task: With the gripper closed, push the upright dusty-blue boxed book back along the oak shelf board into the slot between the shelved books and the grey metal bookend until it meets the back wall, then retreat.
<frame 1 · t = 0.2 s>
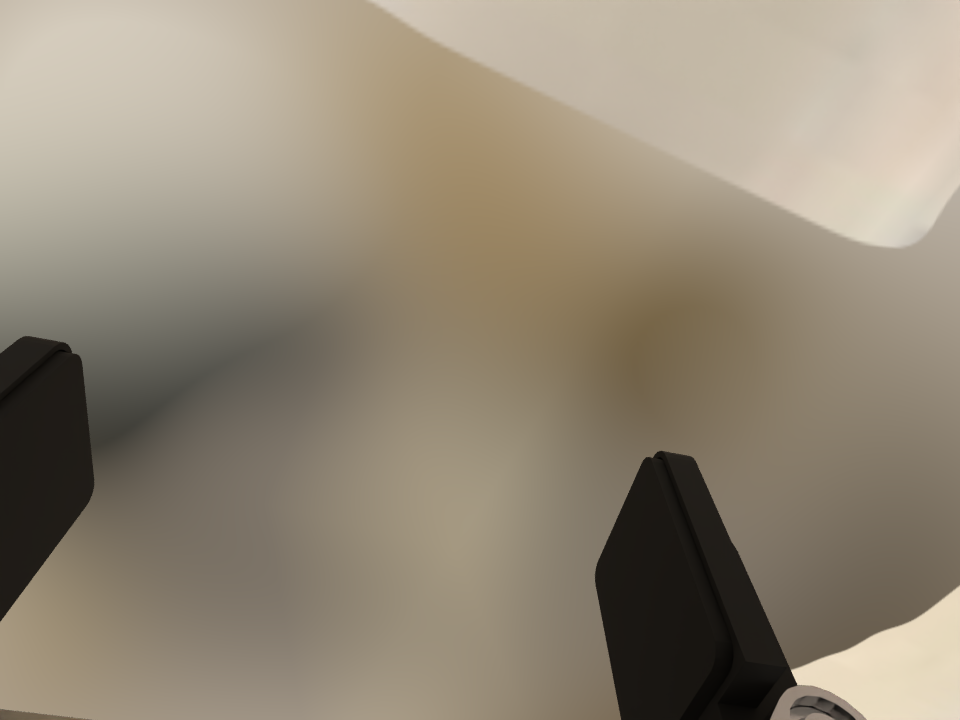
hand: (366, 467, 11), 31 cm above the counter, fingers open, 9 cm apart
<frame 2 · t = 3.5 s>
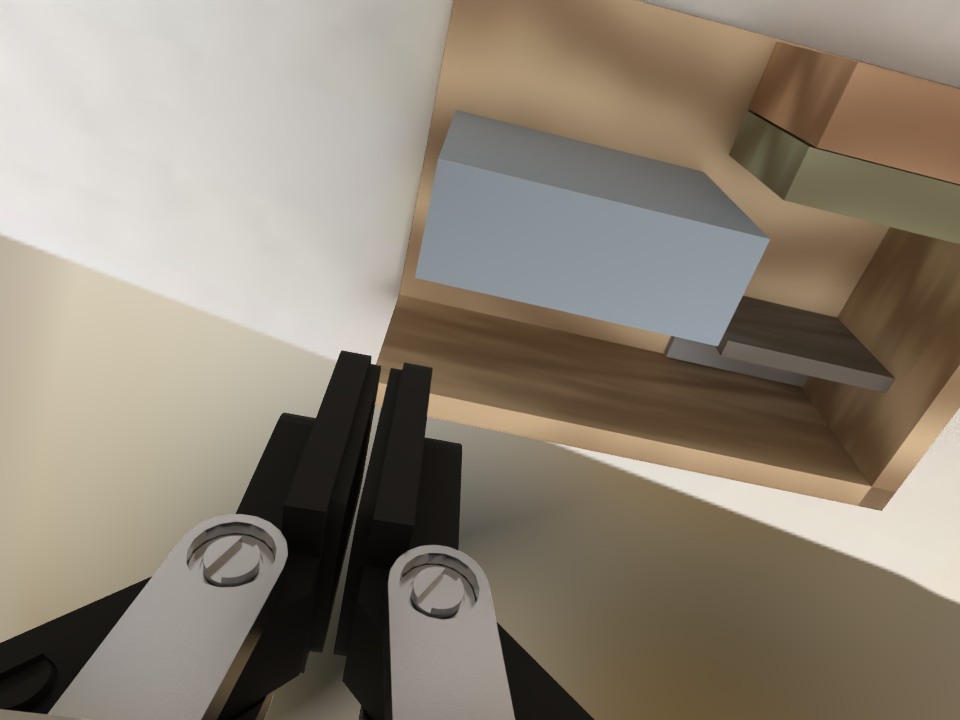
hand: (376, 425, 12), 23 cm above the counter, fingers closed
shelf: (658, 207, 33), on the counter
boxed book: (567, 188, 31), point 1 cm above the counter, touching shelf
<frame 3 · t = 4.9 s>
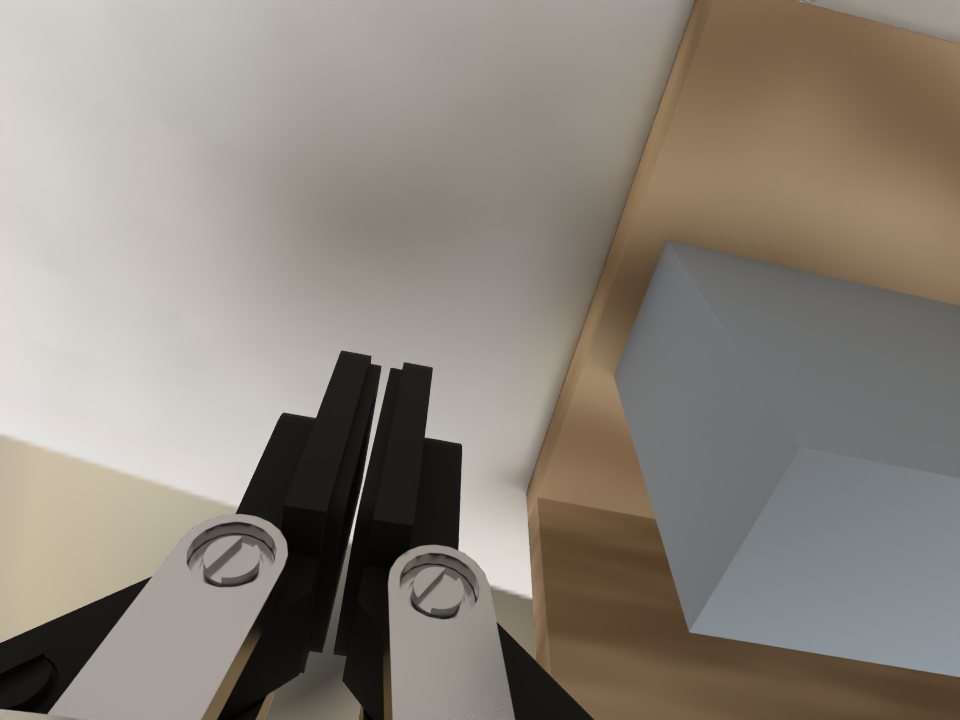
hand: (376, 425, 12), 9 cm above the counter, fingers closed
shelf: (948, 366, 21), on the counter
boxed book: (830, 353, 19), point 1 cm above the counter, touching shelf
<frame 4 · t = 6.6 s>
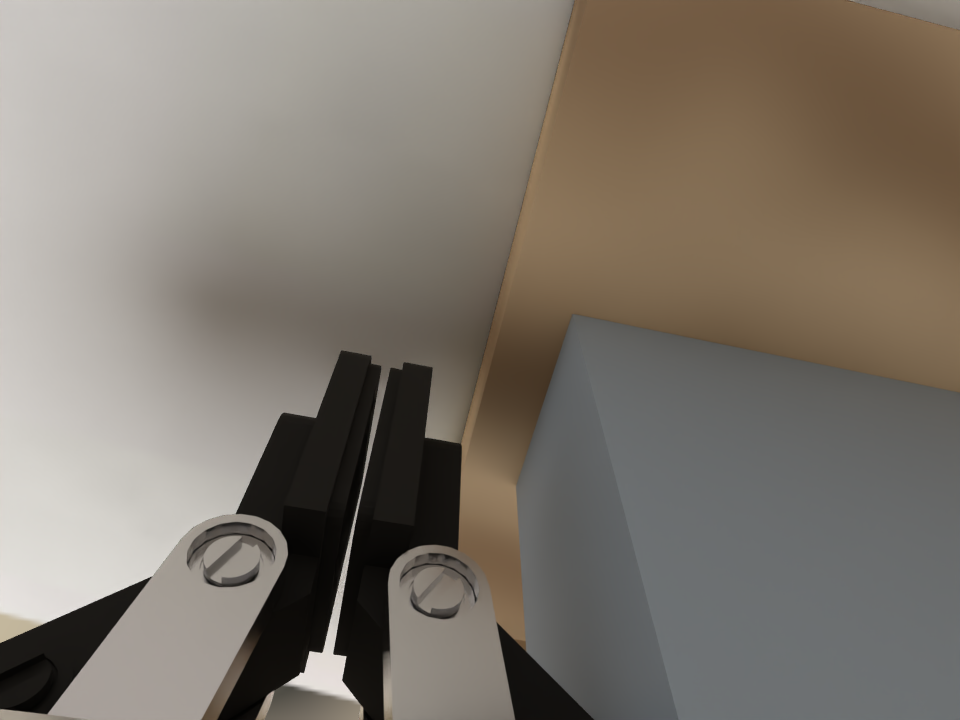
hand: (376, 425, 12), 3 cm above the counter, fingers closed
shelf: (949, 457, 16), on the counter
boxed book: (804, 456, 14), point 2 cm above the counter, touching gripper
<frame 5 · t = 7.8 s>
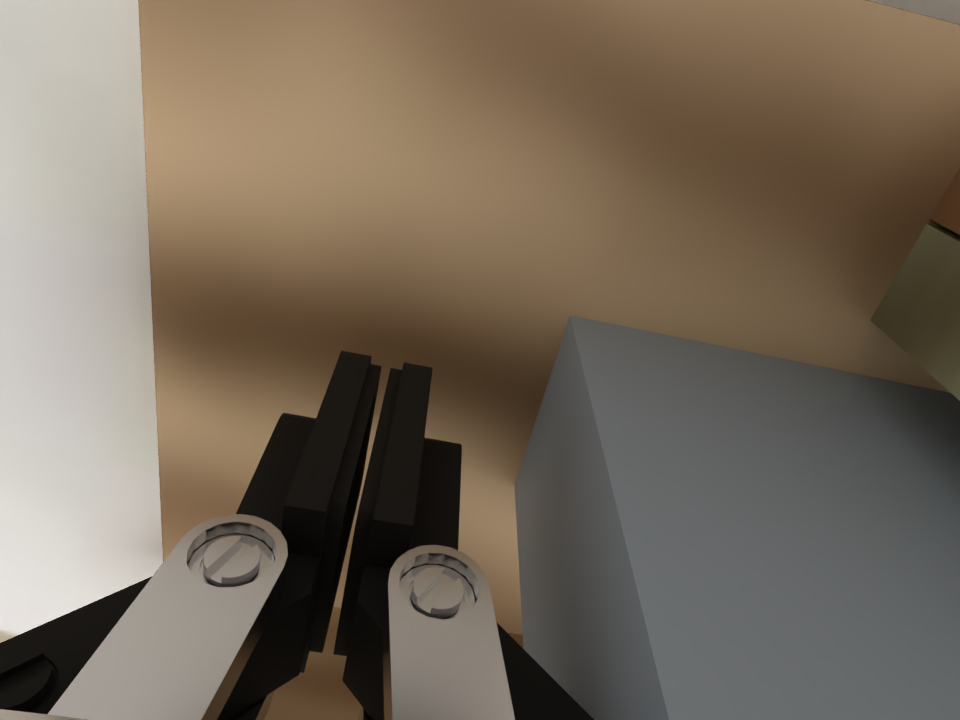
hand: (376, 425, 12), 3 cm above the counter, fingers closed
shelf: (694, 403, 16), on the counter
boxed book: (800, 456, 14), point 2 cm above the counter, touching gripper
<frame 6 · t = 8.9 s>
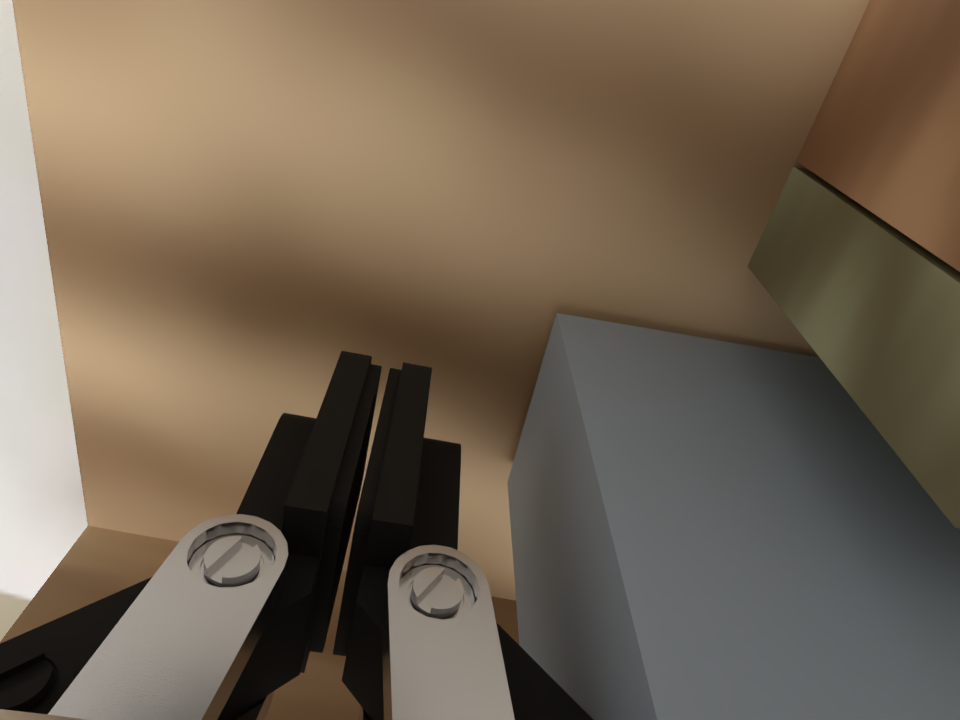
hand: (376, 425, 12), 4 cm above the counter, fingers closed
shelf: (597, 357, 16), on the counter
boxed book: (789, 444, 15), point 2 cm above the counter, touching gripper, shelf
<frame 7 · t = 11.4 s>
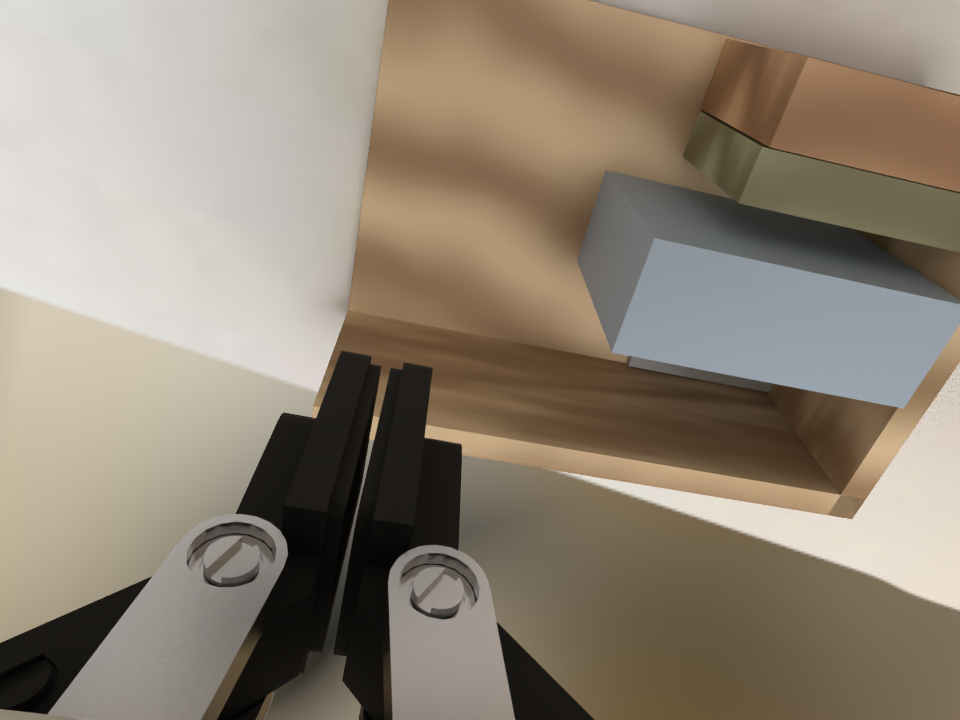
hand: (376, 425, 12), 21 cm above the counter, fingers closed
shelf: (613, 212, 32), on the counter
boxed book: (709, 243, 31), point 1 cm above the counter, touching shelf
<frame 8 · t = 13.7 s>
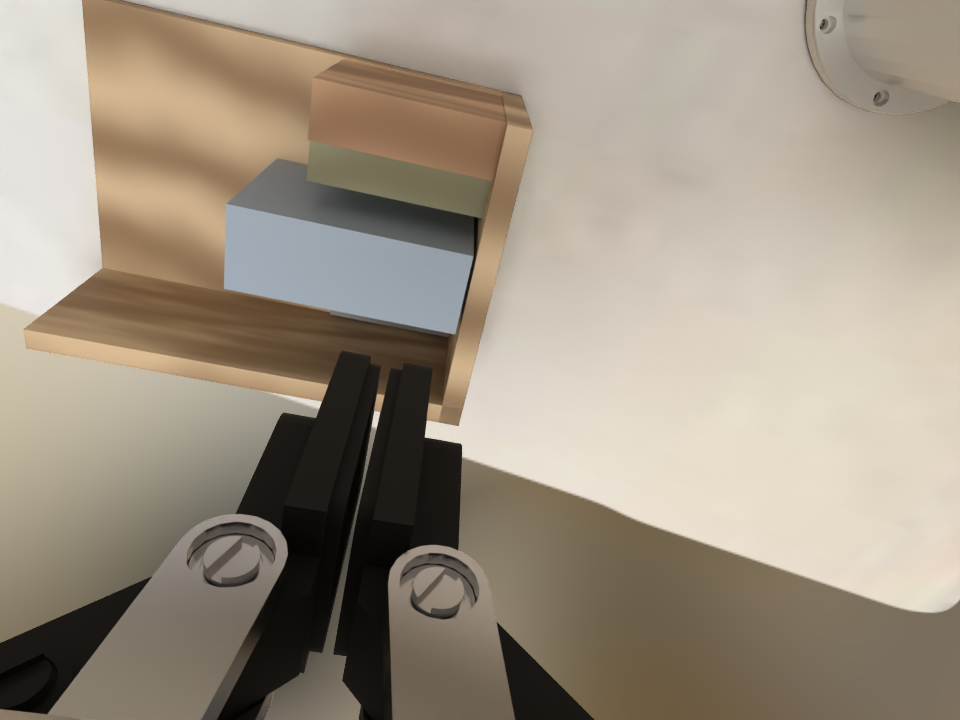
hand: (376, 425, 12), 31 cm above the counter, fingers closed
shelf: (303, 192, 41), on the counter
boxed book: (372, 215, 40), point 1 cm above the counter, touching shelf
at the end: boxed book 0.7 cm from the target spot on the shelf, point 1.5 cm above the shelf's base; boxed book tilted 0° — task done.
